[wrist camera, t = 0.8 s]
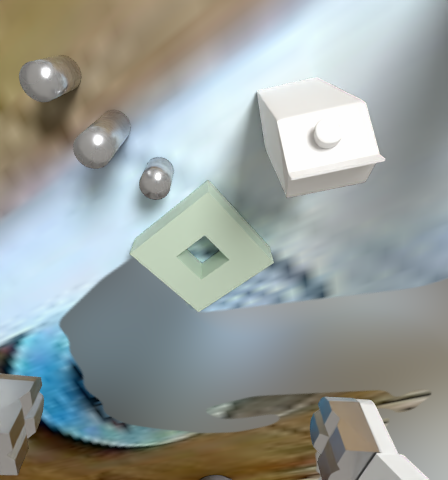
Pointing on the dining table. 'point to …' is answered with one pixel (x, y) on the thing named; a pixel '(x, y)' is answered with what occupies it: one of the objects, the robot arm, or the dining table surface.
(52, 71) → the medium pin
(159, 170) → the short pin
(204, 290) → the socket block
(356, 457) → the robot arm
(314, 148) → the milk carton
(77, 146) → the tall pin
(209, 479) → the pillar candle
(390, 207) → the dining table surface
